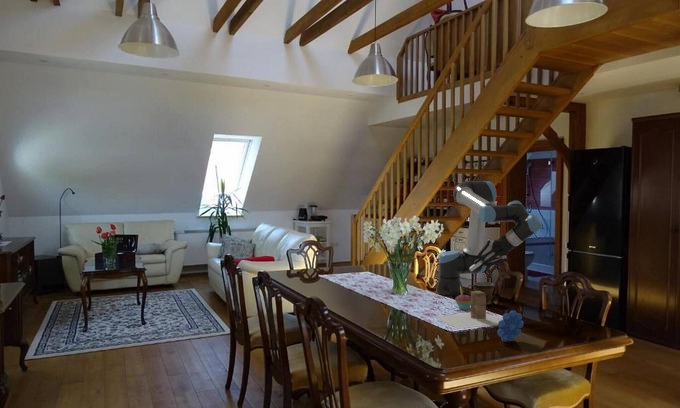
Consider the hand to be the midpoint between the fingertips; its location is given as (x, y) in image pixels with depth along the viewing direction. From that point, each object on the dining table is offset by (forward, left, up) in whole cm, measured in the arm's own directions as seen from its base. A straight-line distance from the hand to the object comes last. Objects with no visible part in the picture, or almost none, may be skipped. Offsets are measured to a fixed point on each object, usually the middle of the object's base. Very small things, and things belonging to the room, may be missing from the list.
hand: (470, 269), depth 231 cm
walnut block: (+15, -6, -20) cm, 25 cm away
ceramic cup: (-12, +14, -20) cm, 28 cm away
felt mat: (+15, -10, -20) cm, 27 cm away
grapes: (+44, -12, -20) cm, 50 cm away
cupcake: (-4, -1, -20) cm, 21 cm away
